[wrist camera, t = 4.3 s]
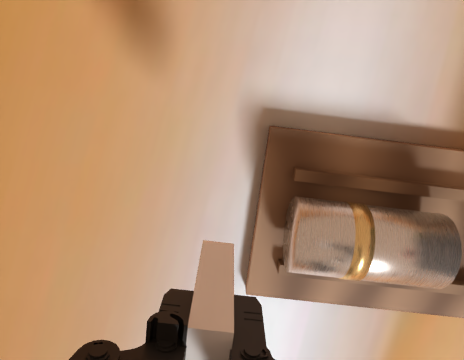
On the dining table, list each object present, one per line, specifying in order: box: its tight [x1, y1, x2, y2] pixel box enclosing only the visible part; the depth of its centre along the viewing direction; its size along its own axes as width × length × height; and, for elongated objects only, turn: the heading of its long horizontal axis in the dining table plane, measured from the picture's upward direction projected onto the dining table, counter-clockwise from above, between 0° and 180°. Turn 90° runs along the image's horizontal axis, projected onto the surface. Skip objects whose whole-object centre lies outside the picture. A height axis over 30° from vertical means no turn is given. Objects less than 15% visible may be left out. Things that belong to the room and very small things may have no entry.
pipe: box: [283, 196, 462, 289], centre depth 25 cm, size 10×5×5 cm, turn 83°
